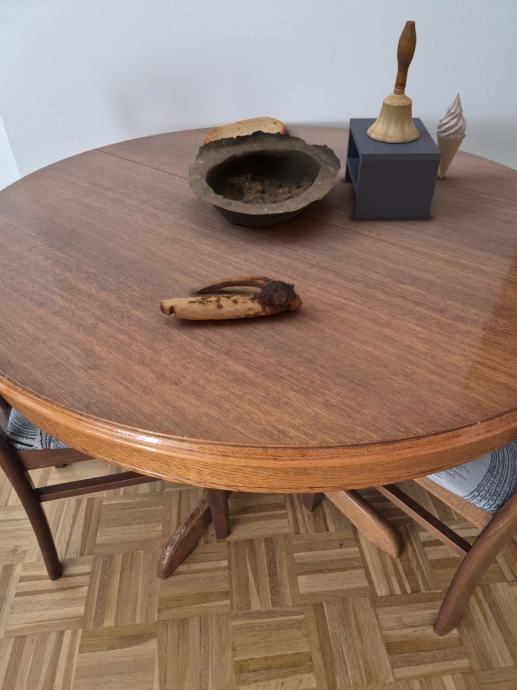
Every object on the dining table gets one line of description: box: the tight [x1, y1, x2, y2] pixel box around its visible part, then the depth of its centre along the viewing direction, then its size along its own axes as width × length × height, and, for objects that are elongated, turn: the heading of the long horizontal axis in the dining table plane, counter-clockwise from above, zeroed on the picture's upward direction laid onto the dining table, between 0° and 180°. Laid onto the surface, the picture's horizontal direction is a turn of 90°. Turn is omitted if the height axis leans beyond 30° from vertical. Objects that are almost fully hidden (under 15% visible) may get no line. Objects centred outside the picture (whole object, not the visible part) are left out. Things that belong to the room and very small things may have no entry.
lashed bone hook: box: [159, 275, 303, 321], centre depth 70 cm, size 9×5×18 cm
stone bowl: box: [187, 130, 342, 228], centre depth 90 cm, size 25×25×9 cm
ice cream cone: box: [435, 92, 467, 179], centre depth 96 cm, size 5×5×15 cm
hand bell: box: [367, 20, 419, 143], centre depth 83 cm, size 8×8×16 cm
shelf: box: [344, 117, 442, 221], centre depth 92 cm, size 12×16×11 cm
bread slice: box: [202, 116, 287, 146], centre depth 115 cm, size 18×18×4 cm
